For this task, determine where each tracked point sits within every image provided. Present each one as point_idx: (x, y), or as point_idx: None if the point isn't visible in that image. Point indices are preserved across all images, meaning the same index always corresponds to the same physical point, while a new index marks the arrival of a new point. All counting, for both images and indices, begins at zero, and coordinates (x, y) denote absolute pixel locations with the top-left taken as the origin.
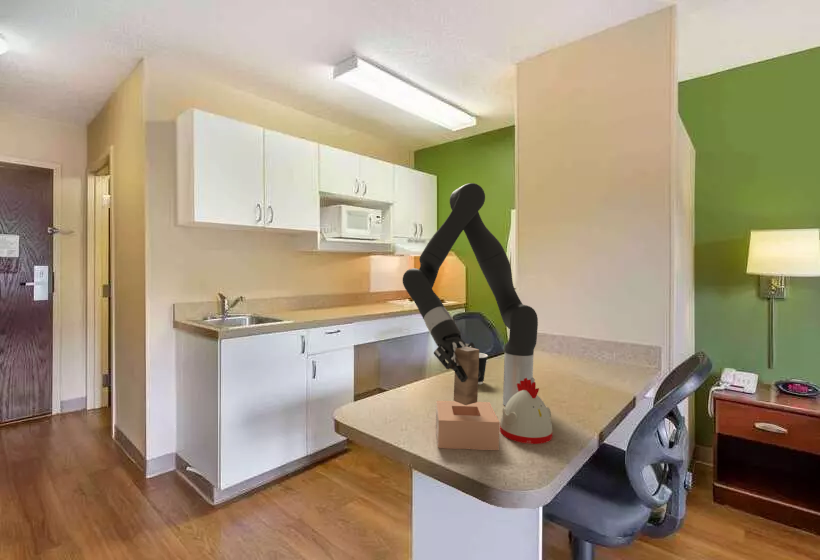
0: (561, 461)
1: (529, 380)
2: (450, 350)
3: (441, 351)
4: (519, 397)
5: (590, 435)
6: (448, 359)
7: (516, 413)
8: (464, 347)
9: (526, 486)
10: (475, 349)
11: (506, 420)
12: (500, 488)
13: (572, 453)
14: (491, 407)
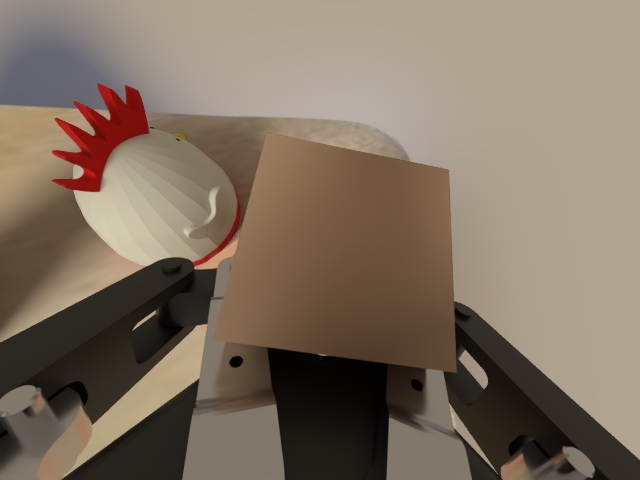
0: (266, 124)
1: (83, 105)
2: (462, 438)
3: (622, 448)
4: (162, 169)
5: (102, 113)
6: (500, 340)
7: (210, 187)
8: (300, 326)
9: (377, 137)
10: (299, 160)
11: (221, 221)
12: (409, 159)
13: (221, 119)
14: (218, 255)
